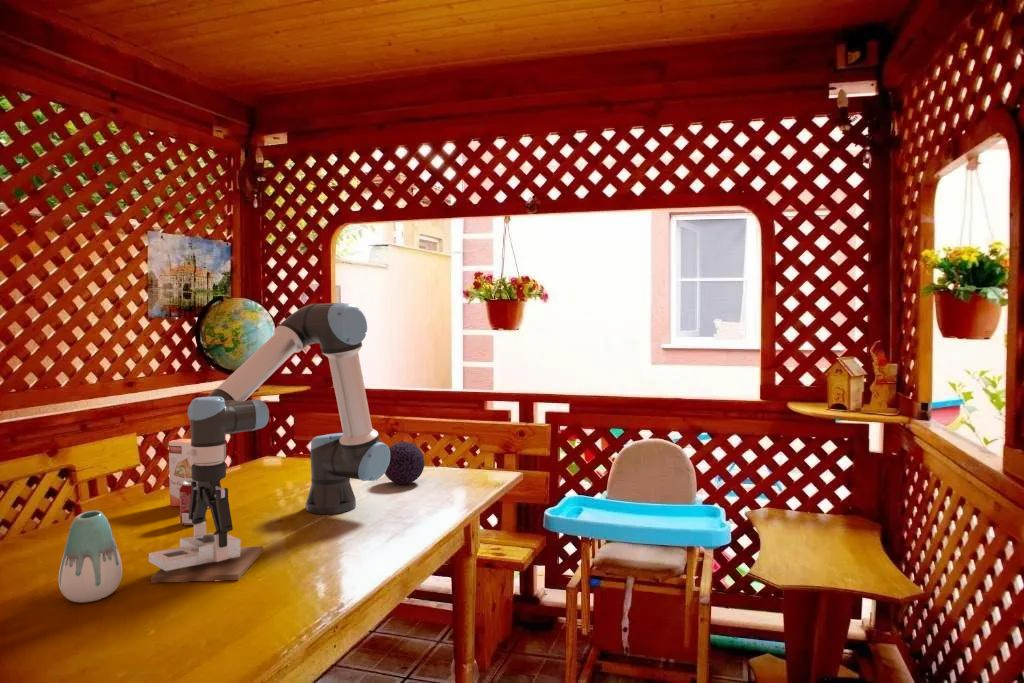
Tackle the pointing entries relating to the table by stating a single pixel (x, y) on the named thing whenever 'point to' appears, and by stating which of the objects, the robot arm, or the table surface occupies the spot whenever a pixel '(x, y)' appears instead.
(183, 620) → the table surface
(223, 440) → the robot arm
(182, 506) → the soda can
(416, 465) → the toy ball
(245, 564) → the post base
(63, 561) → the vase
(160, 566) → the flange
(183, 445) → the cracker box
